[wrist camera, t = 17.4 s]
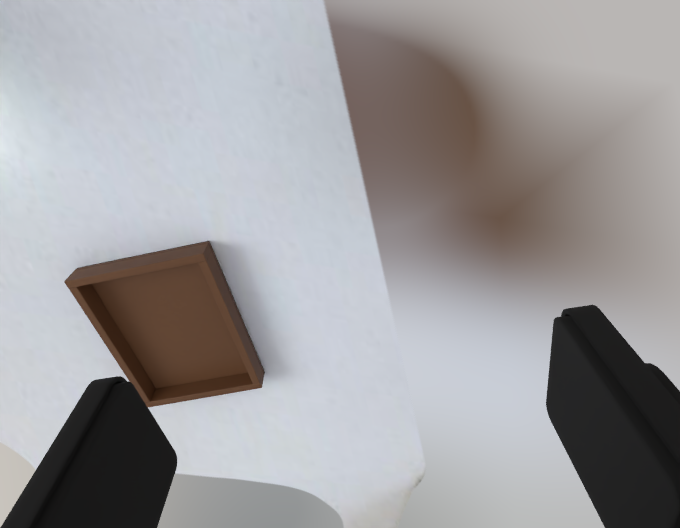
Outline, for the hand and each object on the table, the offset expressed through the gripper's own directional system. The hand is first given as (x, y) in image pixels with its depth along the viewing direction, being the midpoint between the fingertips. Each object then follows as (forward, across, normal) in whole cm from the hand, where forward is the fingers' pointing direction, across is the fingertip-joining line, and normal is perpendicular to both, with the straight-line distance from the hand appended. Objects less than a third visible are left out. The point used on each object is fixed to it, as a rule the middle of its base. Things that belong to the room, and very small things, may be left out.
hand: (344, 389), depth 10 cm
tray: (+30, +21, +19) cm, 41 cm away
